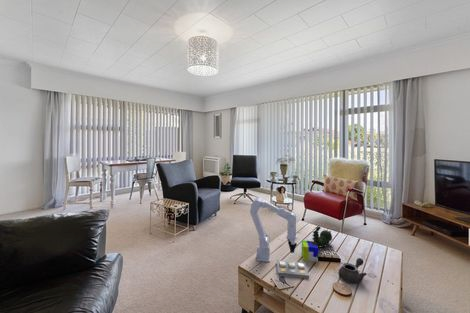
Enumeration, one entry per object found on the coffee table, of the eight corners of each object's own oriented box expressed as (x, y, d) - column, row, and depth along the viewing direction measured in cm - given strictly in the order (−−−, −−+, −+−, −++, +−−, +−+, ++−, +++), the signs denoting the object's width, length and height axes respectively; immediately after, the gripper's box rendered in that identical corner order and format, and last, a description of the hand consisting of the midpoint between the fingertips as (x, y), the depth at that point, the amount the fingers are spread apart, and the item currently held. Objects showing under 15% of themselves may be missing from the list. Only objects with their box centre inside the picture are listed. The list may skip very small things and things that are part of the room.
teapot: (362, 290, 118) (363, 274, 118) (334, 277, 130) (335, 262, 130) (373, 277, 131) (373, 262, 130) (347, 266, 142) (347, 252, 142)
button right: (298, 268, 136) (298, 266, 136) (297, 265, 139) (297, 262, 139) (304, 269, 135) (304, 266, 135) (303, 265, 139) (303, 263, 139)
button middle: (289, 267, 137) (289, 265, 137) (288, 264, 140) (288, 262, 140) (294, 268, 136) (294, 265, 136) (294, 265, 140) (294, 262, 140)
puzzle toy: (317, 261, 148) (318, 248, 147) (303, 259, 150) (303, 246, 149) (315, 254, 157) (315, 241, 157) (301, 252, 159) (302, 240, 159)
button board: (277, 275, 131) (277, 272, 131) (276, 262, 145) (276, 259, 145) (309, 278, 128) (309, 275, 128) (304, 265, 142) (304, 262, 142)
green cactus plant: (320, 254, 161) (336, 242, 176) (320, 231, 159) (336, 221, 174) (309, 249, 168) (325, 238, 184) (309, 227, 166) (325, 217, 181)
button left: (279, 266, 138) (280, 264, 137) (279, 263, 141) (279, 261, 141) (285, 267, 137) (285, 264, 137) (285, 264, 141) (285, 261, 140)
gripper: (299, 235, 136) (299, 255, 136) (296, 226, 150) (295, 245, 151) (288, 234, 137) (288, 254, 137) (286, 226, 151) (285, 244, 152)
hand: (291, 249), depth 144 cm, fingers open, 7 cm apart
